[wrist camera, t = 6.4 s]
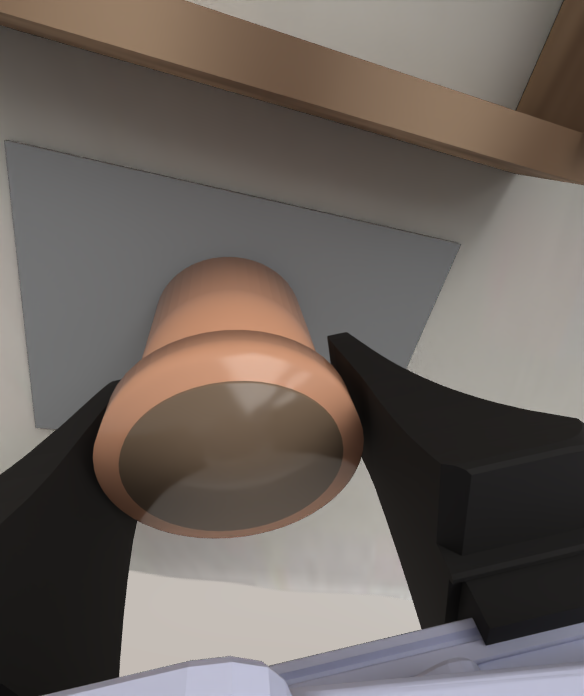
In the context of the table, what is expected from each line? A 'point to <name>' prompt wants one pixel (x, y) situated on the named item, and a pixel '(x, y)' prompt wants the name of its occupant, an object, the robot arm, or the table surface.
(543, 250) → the table surface
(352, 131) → the table surface
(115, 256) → the slate mat
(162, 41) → the frame
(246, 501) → the terracotta pot
